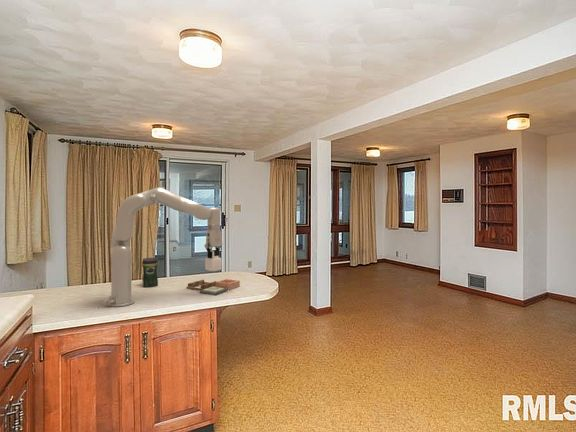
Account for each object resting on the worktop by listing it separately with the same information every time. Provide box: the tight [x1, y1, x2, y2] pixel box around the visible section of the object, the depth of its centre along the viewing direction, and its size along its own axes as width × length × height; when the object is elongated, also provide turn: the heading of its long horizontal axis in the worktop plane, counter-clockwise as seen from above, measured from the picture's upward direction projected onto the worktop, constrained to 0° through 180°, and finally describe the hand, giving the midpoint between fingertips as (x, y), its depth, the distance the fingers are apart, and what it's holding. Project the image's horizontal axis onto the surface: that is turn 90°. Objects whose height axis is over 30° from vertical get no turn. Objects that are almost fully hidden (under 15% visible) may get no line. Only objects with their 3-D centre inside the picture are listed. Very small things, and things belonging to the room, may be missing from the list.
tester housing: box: [199, 288, 229, 296], centre depth 205 cm, size 12×12×2 cm
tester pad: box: [203, 286, 224, 292], centre depth 205 cm, size 9×9×1 cm
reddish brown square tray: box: [215, 278, 241, 291], centre depth 218 cm, size 11×11×4 cm
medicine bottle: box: [204, 249, 223, 272], centre depth 205 cm, size 7×7×12 cm
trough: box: [185, 279, 217, 292], centre depth 218 cm, size 17×12×3 cm
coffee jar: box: [141, 257, 159, 288], centre depth 220 cm, size 10×8×19 cm
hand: (213, 257), depth 205 cm, fingers closed on medicine bottle, 6 cm apart
